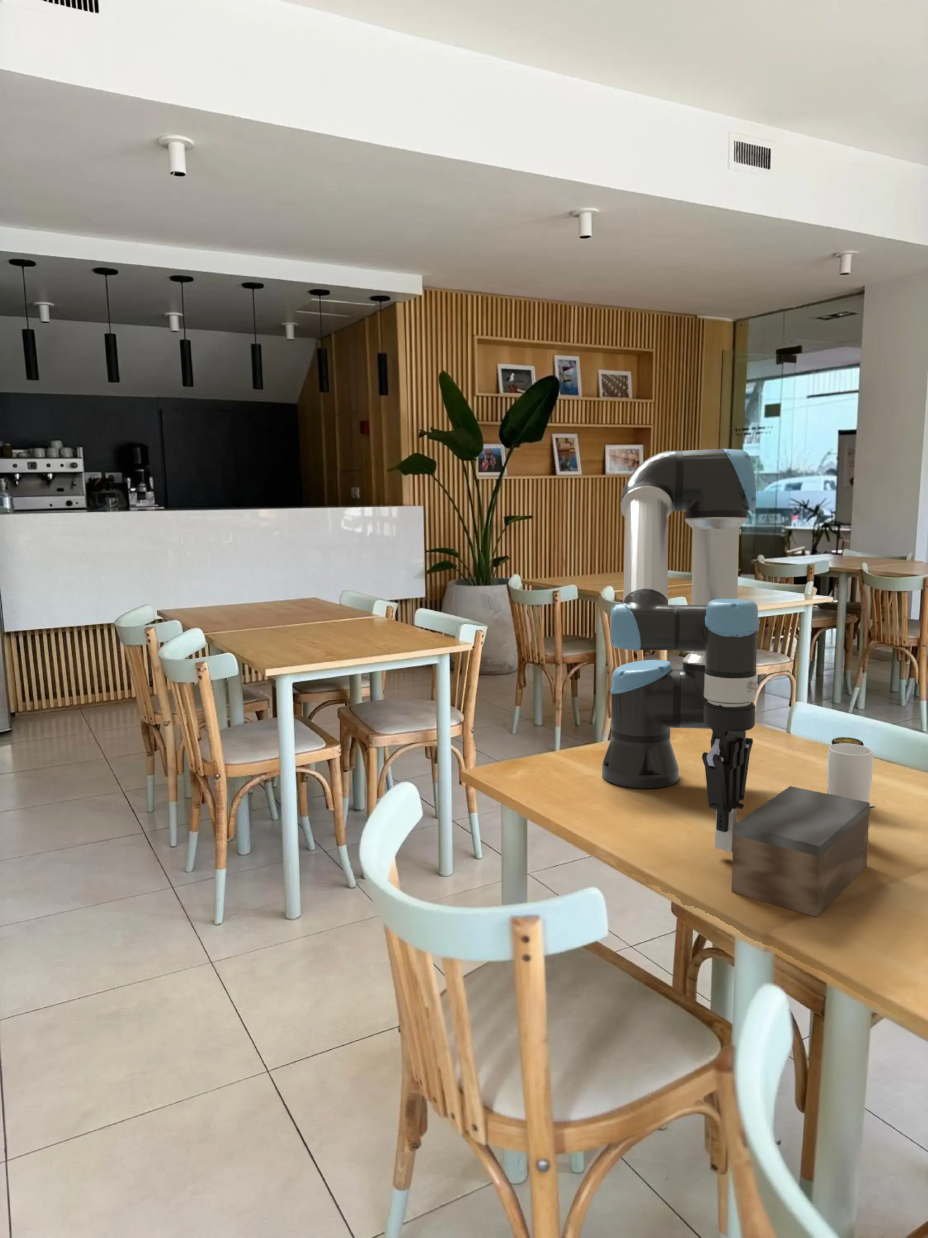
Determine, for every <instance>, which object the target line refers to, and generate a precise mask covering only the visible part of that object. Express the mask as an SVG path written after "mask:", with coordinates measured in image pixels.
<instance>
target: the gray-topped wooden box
mask: <svg viewBox="0 0 928 1238" xmlns="http://www.w3.org/2000/svg"><path fill="white" fill-rule="evenodd" d="M870 804H871V803H870V802H864V801H860V800H855V799H850V798H845V797H840V796H835V795H831V794H827V793H825V792H820V791H815V790H812V789H811V790H810V789H805V788H801V787H796V786H792V785H789V786H788V787H787V788H786V789H784V790H782V791H781V792H779V793H777V795H775V796H774V797H772V798H771V799H769V800H767V801H766V802H765V803H763V804H762V805H760V806H759V807H757V808H756V809H754V810H753V811H752V812H750V813H748V814H747V815H745V816H744V817H742V818H741V819H740V820H737V821H738V822H737V823H735V824H734V825H733V852H732V861H731V862H732V865H731V868H732V869H731V892H732V893H735V894H738V895H741V896H744V897H748V898H751V899H755V900H758V901H762V902H765V903H768V904H772V905H775V906H777V907H778V906H779V907H782V908H785V909H789V910H791V911H794V912H799V913H801V914H805V915H809V916H812V917H815V918H818V917H819V916H820V915H821V914H822V913H823V911H825V909H826V908H827V907H828V906H829V905H831V903H832V902H833V901H834V900H835V899H836V898H837V897H838V896H839V895H840V894H841V893H842V892H843V891H844V890H845V889H846V887H848V886H849V885H850V883H851V882H853V881H854V879H856V878H857V876H859V874H860V873H861V872H862V871H863V870H865V868H866V867H867V866H868V864H867V863H868V845H869V829H870V828H869V827H870V826H869V825H870V824H869V823H870V822H869V821H870V808H871V807H870Z"/></svg>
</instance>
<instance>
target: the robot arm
mask: <svg viewBox="0 0 928 1238" xmlns="http://www.w3.org/2000/svg"><path fill="white" fill-rule="evenodd" d="M621 493H622V494H621V498H620V511H621V514H622V517H624V519H625V535H624V537H625V539H624V560H623V561H624V563H623V564H624V566H623V567H624V569H623V593H622V594H623V595H622V596H623V597H622V599H623V601H622V603H620V604H614V605H612V606H611V608H610V629H609V631H610V633H609V634H610V637H609V638H610V644H611V646H612V647H613V648H615V649H617V650H627V651H629V650H630V651H636V652H638V651H681V652H683V651H684V652H685V651H686V652H689V653H688V654H687V655H686V656H685V657H684V658H683V659H682V668H673V665H672V663H671V662H670V661H668V660H665V659H646V660H637V661H633V662H628V663H624V664H622V665H620V666H618V667H616V668H615V669H614V670H613V671H612V674H611V688H610V690H609V691H610V692H609V693H610V694H611V706H610V707H611V712H610V713H611V716H610V717H611V719H610V740H609V744H608V747H607V749H606V752H605V756H604V758H603V761H602V763H601V764H602V765H601V775H602V778H603V779H604V780H605V781H606V782H609V783H611V784H614V785H616V786H620V787H626V788H632V789H658V788H664V787H665V788H666V787H668V786H671V785H674V784H675V783H677V782H678V781H679V778H680V777H679V775H680V774H679V773H680V770H679V764H678V762H677V759H676V755H675V752H674V749H673V746H672V742H671V729H673V728H674V729H699V730H700V729H703V730H711V731H712V734H711V738H710V751H709V752H705V751H704V752H703V753H702V754H701V760H702V762H703V765H704V770H705V782H706V794H707V803H708V808H709V809H711V810H715V837H714V838H715V845H714V846H715V847H714V849H718V850H722V851H724V852H728V853H733V825H734V824H735V823H736V822H737V821H738V816H737V815H738V814H737V812H738V809H740V810H743V809H744V806H745V804H744V803H741V802H740V801H743V800H744V799H745V794H746V786H747V780H748V779H747V777H748V769H749V763H750V754H751V751H752V746H753V744H754V740H753V737H752V738H751V737H747V731H749V730H752V729H754V727H755V725H756V704H754V700H755V701H756V690H757V689H759V684H758V683H757V656H758V655H757V653H758V651H757V650H758V636H759V635H758V634H759V633H758V632H759V628H760V621H759V608H758V604H757V603H756V602H755V601H754V600H751V599H750V600H749V599H744V598H743V599H742V598H738V594H739V593H738V590H739V589H738V588H739V585H738V584H739V545H740V543H739V542H740V541H739V540H740V538H739V533H740V529H741V527H742V526H743V525H744V524H745V523H746V522H747V521H748V512H751V511H754V510H755V509H756V507H757V485H756V477H755V470H754V465H753V461H752V459H751V456H750V454H749V453H748V452H747V451H745V450H743V449H737V448H736V449H733V448H717V449H716V448H715V449H691V450H690V449H689V450H675V449H674V450H664V451H661V452H658V453H656V454H653V455H652V456H650V457H648V458H647V459H645V461H643V462H641V464H639V466H637V467H636V468H635V470H633V472H632V473H631V475H630V476H629V477H628V479H627V481H626V482H625V484H624V487H623V490H622V492H621ZM672 512H684V521H685V523H687V525H688V526H689V527H690V528H691V529H692V554H691V555H692V560H691V563H692V564H691V571H692V572H691V604H669V568H668V561H669V560H668V557H669V556H668V553H669V552H668V519H669V517H670V515H671V513H672Z"/></svg>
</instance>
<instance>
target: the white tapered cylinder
mask: <svg viewBox="0 0 928 1238" xmlns="http://www.w3.org/2000/svg"><path fill="white" fill-rule="evenodd" d="M827 751H828V752H827V761H826V768H827V769H826V774H827V775H826V776H827V790H828V791H827V793H828V794H831V795H835V796H840V797H845V798H850V799H855V800H860V801H864V802H869V800H870V796H871V788H872V781H873V770H874V750H873V749H871V748H870V747H868V746H865V745H864V746H862V745H857V744H848V743H840V744H833V745H832V744H830V745H829V746H828V750H827ZM869 803H870V802H869Z"/></svg>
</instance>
